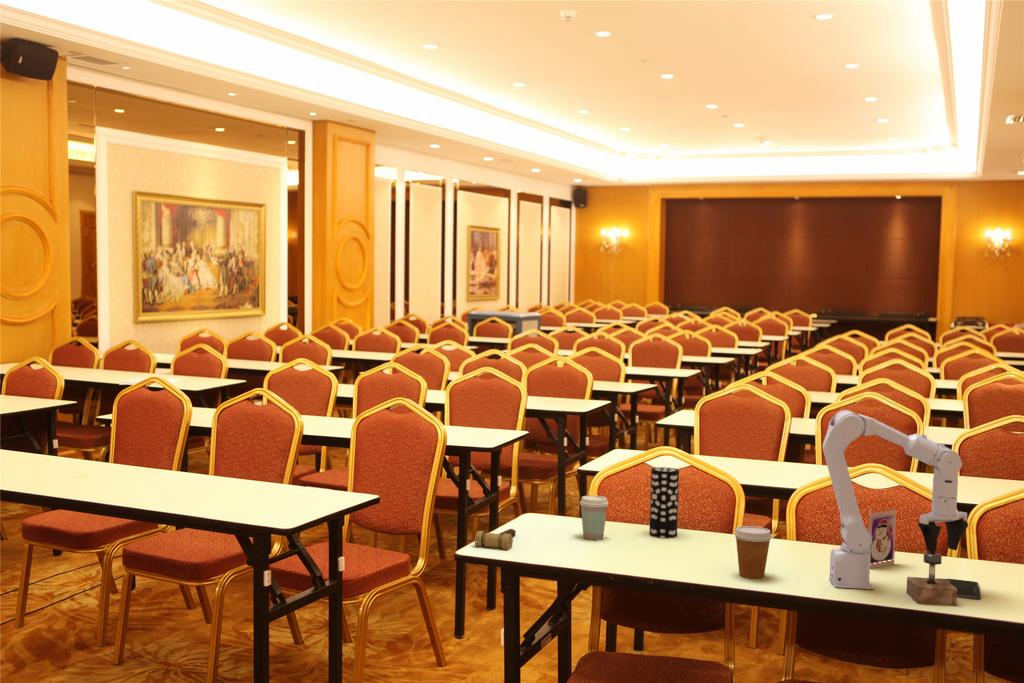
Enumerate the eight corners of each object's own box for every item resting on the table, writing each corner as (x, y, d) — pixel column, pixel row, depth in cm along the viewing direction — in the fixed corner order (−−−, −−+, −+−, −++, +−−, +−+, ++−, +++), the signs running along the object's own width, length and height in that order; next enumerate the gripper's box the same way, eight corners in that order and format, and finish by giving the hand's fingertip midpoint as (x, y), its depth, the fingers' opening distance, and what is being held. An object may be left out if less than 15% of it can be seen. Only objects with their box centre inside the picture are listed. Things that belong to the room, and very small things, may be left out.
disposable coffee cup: (744, 581, 257) (746, 534, 257) (726, 571, 266) (727, 526, 266) (777, 579, 260) (779, 533, 259) (758, 569, 269) (760, 525, 269)
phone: (945, 593, 249) (945, 578, 262) (945, 597, 249) (945, 582, 262) (981, 597, 246) (978, 581, 259) (980, 601, 246) (978, 586, 259)
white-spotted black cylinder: (676, 539, 302) (678, 472, 301) (648, 537, 304) (650, 471, 303) (677, 532, 310) (679, 468, 310) (650, 531, 312) (652, 466, 311)
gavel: (499, 522, 306) (530, 525, 303) (498, 537, 306) (530, 540, 303) (474, 532, 286) (508, 535, 283) (474, 548, 286) (507, 551, 283)
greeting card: (870, 569, 272) (872, 514, 272) (847, 563, 278) (849, 509, 278) (896, 564, 278) (898, 510, 278) (873, 558, 285) (875, 505, 284)
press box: (917, 603, 241) (917, 586, 241) (906, 592, 250) (907, 576, 250) (956, 605, 240) (957, 588, 240) (944, 594, 249) (944, 578, 249)
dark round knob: (925, 585, 244) (926, 555, 243) (920, 580, 247) (921, 551, 247) (942, 586, 243) (943, 556, 243) (937, 581, 247) (938, 552, 247)
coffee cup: (608, 541, 297) (609, 501, 296) (579, 540, 297) (580, 500, 297) (606, 534, 305) (607, 495, 305) (578, 534, 306) (579, 494, 305)
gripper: (937, 501, 245) (934, 556, 246) (978, 498, 252) (975, 551, 252) (913, 495, 252) (911, 549, 252) (954, 492, 258) (952, 545, 259)
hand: (941, 550), depth 253 cm, fingers open, 7 cm apart
